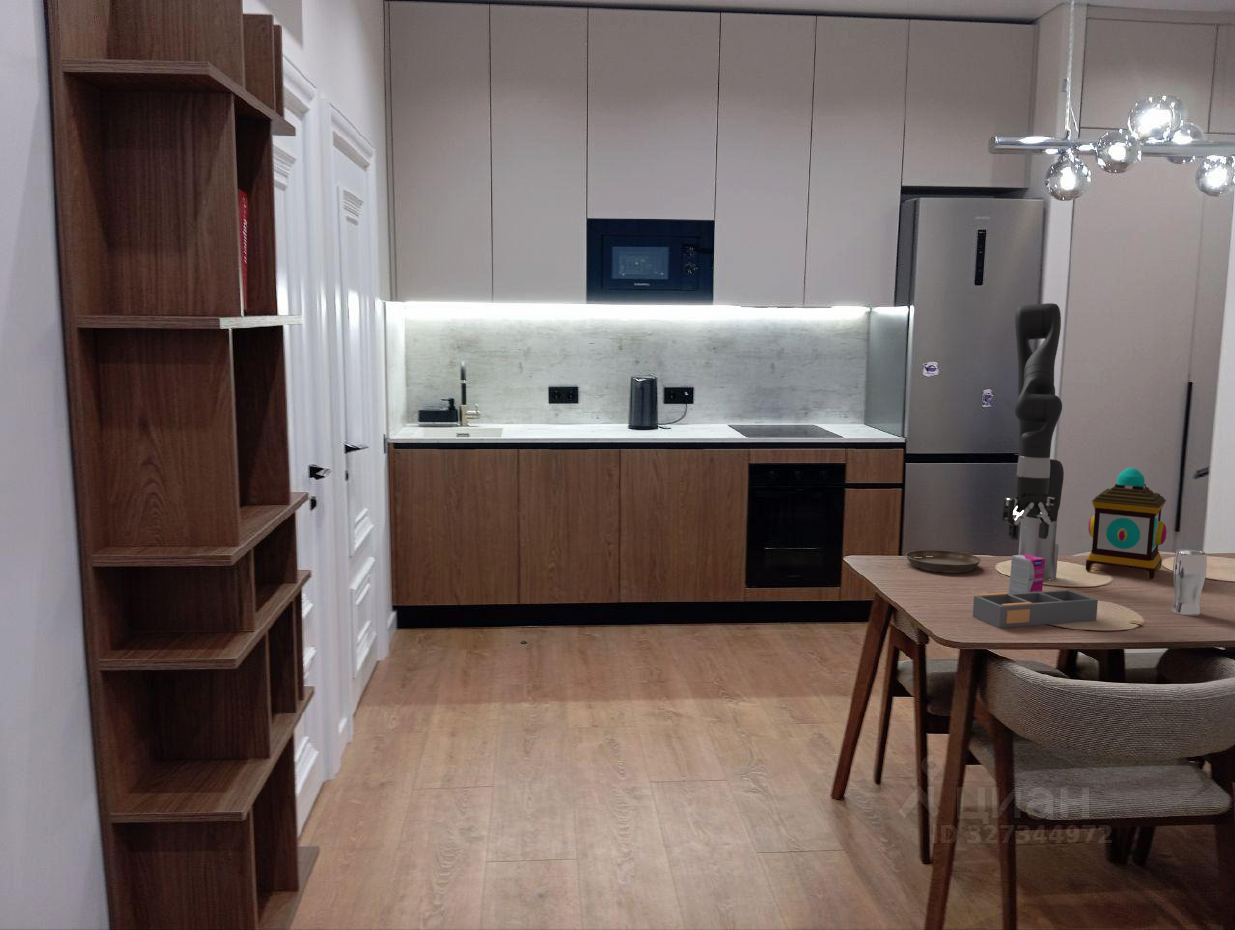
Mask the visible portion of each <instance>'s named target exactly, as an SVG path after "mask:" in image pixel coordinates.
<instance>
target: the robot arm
mask: <svg viewBox="0 0 1235 930" xmlns="http://www.w3.org/2000/svg"><path fill="white" fill-rule="evenodd" d="M1014 316H1015V317H1014V327H1015V328H1014V329H1015V337H1016V338H1015V339H1016V350H1017V360H1018V361H1017V362H1018V363H1017V364H1018V365H1017V366H1018V368H1017V369H1018V374H1017V375H1018V378H1017V379H1018V380H1017V381H1018V383H1017V384H1018V386H1017V389H1018V391H1017V393H1018V394H1017V400H1016V403H1015V406H1014V414H1015V416H1016V418H1017V419H1018V421H1019V422H1018V423H1019V426H1018V427H1019V432H1018V433H1019V436H1018V437H1019V439H1018V440H1019V441H1018V451H1017V452H1018V455H1017V467H1016V470H1017V471H1016V482H1015V493H1016V495H1015V496H1016V497H1015V498H1012V497H1005V498H1004V502H1003V510H1002V515H1001V516H1002V517H1001V520H1002V522H1005V523H1007V524H1008V537H1009V539H1010V540H1012V541H1017V540H1018V539H1019V542H1018V543H1019V545H1018V555H1023V554H1029V555H1033V556H1036V557H1040V558H1044V559H1045V568H1044V578H1043V581H1050V580H1049V579H1052V578H1053V579H1057V572H1058V570H1057V569H1058V558H1059V557H1058V556H1059V544H1058V543H1057V528H1058V517H1059V516H1058V515H1059V511H1060V506H1061V498H1062V492H1063V487H1064V486H1063V485H1064V476H1065V475H1064V474H1065V473H1064V471H1065V470H1064V467H1063V464H1062V462H1061V461H1060V460H1057V459H1054V458H1053V459H1052V458H1051V451H1052V450H1051V449H1052V441H1053V435H1054V432H1055V430H1056V426H1057V423H1058V421H1059V419H1060V417H1061V414H1062V412H1063V411H1062V410H1063V402H1062V400H1061V398H1060V397H1059V396H1058V395H1056V387H1055V363H1056V357H1057V353H1058V352H1057V351H1058V347H1059V341H1060V336H1061V328H1062V327H1061V326H1062V316H1061V310H1060V307H1059V305H1058V304H1056V303H1053V302H1052V303H1050V302H1049V303H1036V304H1024V305H1023V304H1021V305H1019V306H1018V307H1017V308H1016V311H1015V315H1014ZM1041 339H1042V340H1043V339H1044V340H1043V341H1042V343H1041V344H1040V345H1039V346H1038V347H1037V349H1035V351H1034V352H1033V350H1032V348H1031V345H1030V340H1041ZM1019 523H1020V525H1019ZM1019 526H1020V528H1019ZM1019 529H1020V530H1019ZM1019 531H1020V532H1019ZM1053 579H1052V580H1053Z"/></svg>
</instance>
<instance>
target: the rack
mask: <svg viewBox="0 0 1235 930" xmlns="http://www.w3.org/2000/svg"><path fill="white" fill-rule="evenodd" d="M1098 603H1099V599H1097V598H1094V597H1091V596H1087V595H1085V594H1083V593H1079V592H1076V591H1074V590H1070V589H1059V590H1057V589H1056V590H1044V591H1043V590H1042V591H1041V592H1026V593H1011V594H1008V592H993V593H980V594H977V595H973V606H972V617H973V618H976V619H977V620H980V621H982V622H984V623H986V624H989V625H991V626H993V627H996V628H998V629H1004V628H1017V627H1019V628H1020V627H1029V626H1042V625H1044V626H1045V625H1058V624H1068V623H1069V624H1071V623H1083V622H1093V621H1094V622H1095V621H1097V615H1098Z"/></svg>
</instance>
